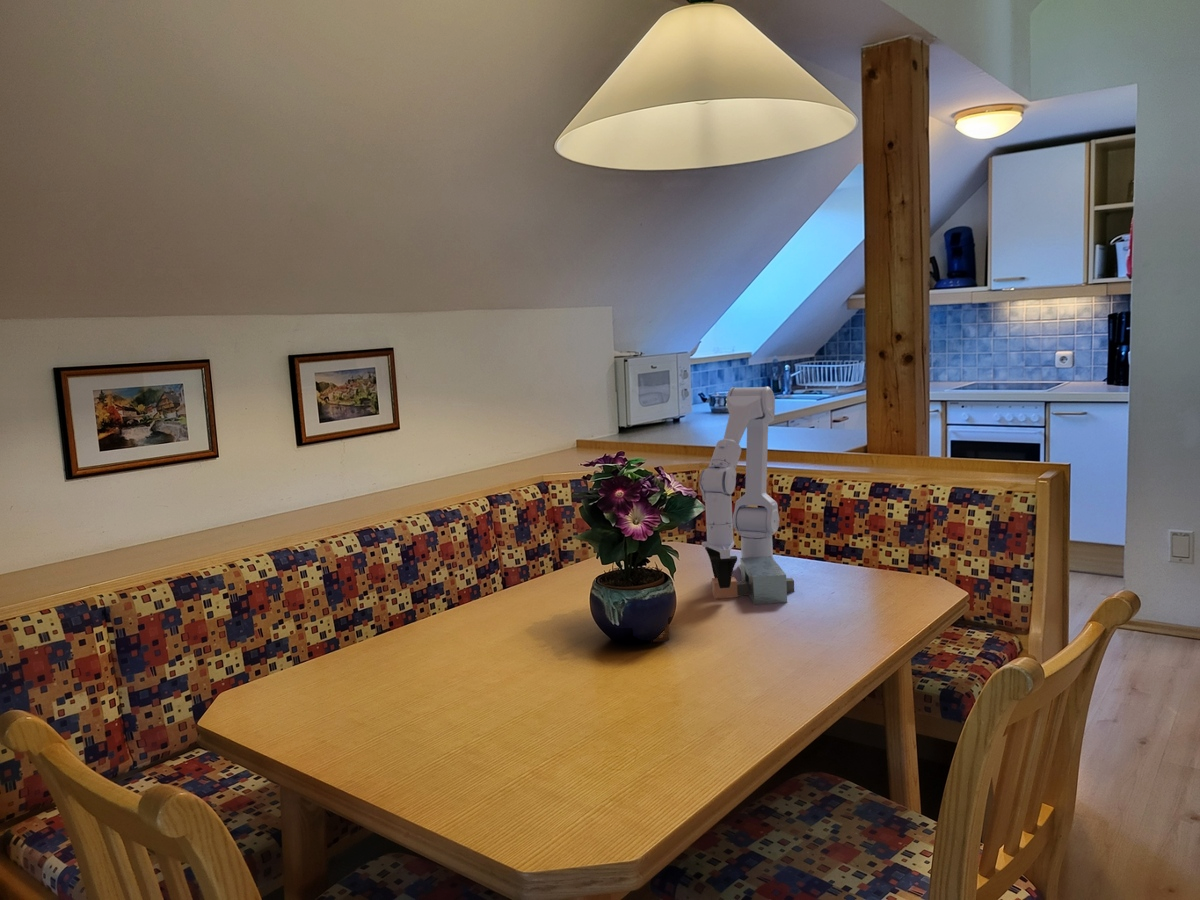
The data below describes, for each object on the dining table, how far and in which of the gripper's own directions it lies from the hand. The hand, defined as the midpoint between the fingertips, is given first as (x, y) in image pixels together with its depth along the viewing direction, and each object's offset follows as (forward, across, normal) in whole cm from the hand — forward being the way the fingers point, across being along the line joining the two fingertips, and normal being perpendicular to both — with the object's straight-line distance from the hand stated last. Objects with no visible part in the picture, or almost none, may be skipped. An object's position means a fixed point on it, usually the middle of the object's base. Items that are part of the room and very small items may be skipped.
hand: (722, 582), depth 203 cm
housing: (+3, 0, +9) cm, 9 cm away
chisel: (+3, 0, +7) cm, 7 cm away
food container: (+3, +23, -19) cm, 30 cm away
